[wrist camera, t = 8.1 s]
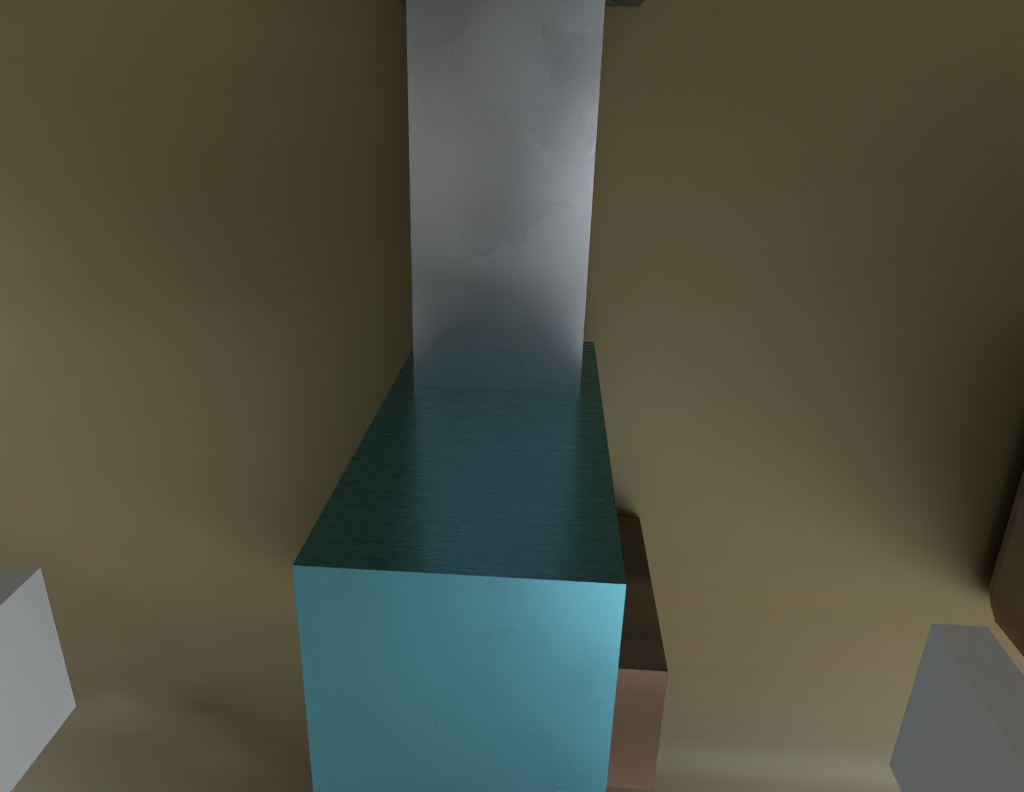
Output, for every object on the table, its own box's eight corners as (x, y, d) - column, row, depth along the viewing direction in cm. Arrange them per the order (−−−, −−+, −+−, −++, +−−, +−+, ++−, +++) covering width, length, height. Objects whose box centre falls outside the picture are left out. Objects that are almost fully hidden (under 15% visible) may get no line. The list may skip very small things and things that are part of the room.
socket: (370, 503, 23) (304, 649, 17) (639, 517, 23) (667, 671, 17) (375, 600, 25) (314, 767, 19) (629, 615, 24) (652, 790, 18)
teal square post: (413, -144, 16) (196, -480, 7) (627, -140, 16) (731, -482, 6) (425, 604, 23) (329, 973, 14) (574, 613, 23) (585, 993, 13)
